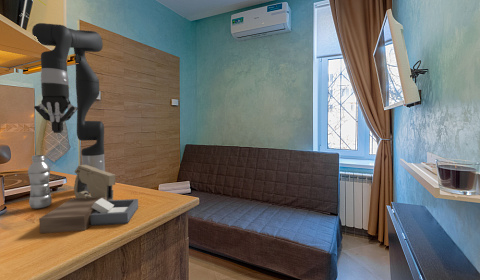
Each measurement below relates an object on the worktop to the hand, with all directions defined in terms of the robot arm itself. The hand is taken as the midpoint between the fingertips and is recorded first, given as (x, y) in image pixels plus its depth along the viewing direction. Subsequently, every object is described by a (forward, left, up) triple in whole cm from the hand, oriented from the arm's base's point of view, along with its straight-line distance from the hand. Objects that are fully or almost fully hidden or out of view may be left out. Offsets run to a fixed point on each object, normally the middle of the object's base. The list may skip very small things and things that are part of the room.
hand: (57, 132), depth 82 cm
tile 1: (+8, +17, -26) cm, 32 cm away
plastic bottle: (-6, -10, -29) cm, 31 cm away
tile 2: (+8, +22, -26) cm, 35 cm away
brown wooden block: (+8, +9, -29) cm, 31 cm away
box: (+7, +21, -29) cm, 36 cm away
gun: (-10, +7, -29) cm, 32 cm away
